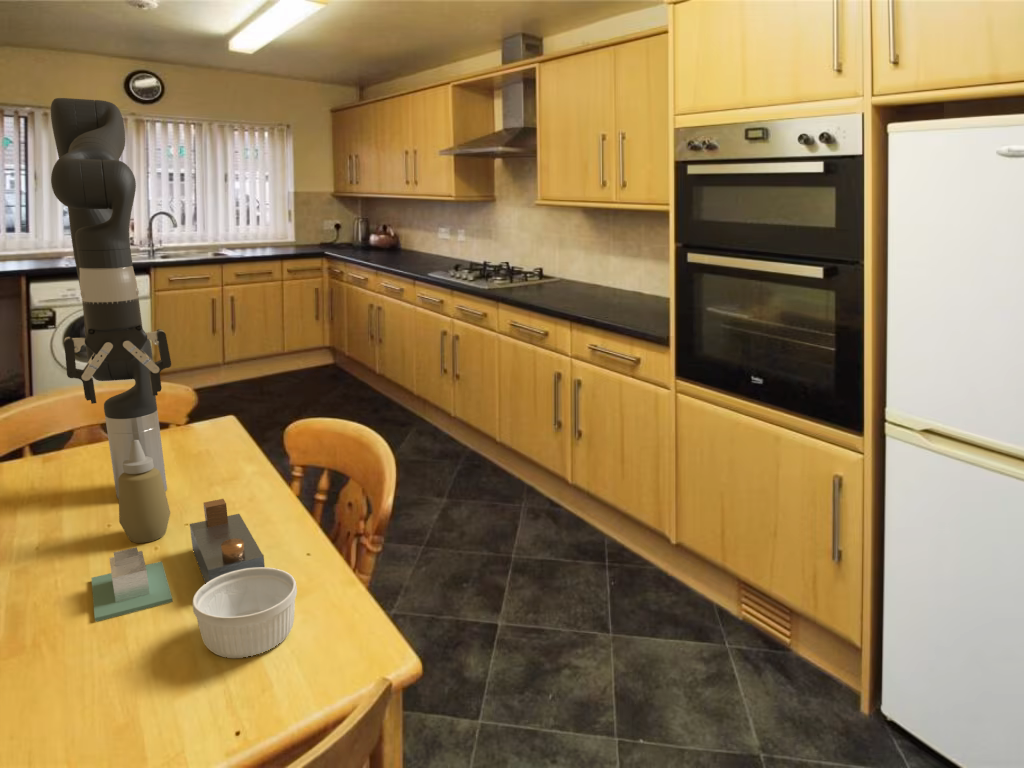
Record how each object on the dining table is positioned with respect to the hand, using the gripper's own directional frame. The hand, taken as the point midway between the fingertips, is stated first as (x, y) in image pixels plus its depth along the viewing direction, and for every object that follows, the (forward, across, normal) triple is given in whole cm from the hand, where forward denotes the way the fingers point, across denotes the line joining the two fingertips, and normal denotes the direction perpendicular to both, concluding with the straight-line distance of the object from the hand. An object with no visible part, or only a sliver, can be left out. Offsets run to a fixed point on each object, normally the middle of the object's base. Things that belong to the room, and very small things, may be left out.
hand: (124, 398), depth 110 cm
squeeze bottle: (+28, -1, -8) cm, 29 cm away
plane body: (+28, -11, +11) cm, 32 cm away
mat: (+27, +3, +11) cm, 30 cm away
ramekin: (+28, -10, +32) cm, 44 cm away
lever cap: (+27, +3, +11) cm, 29 cm away
